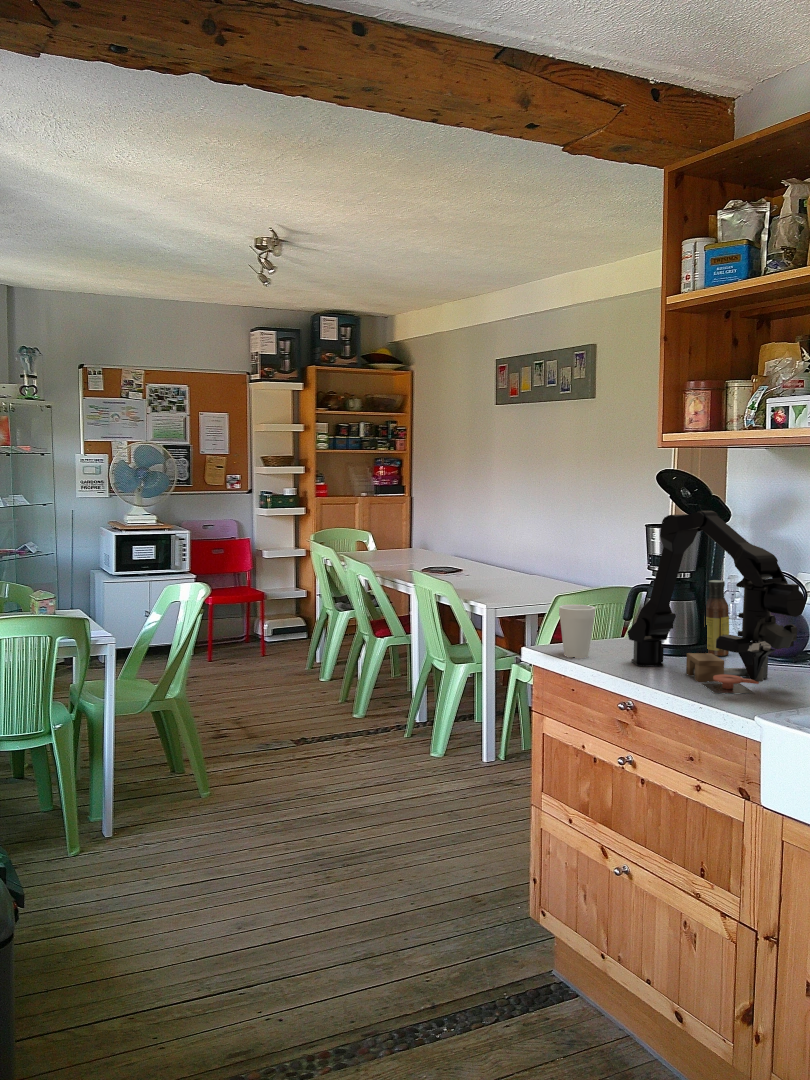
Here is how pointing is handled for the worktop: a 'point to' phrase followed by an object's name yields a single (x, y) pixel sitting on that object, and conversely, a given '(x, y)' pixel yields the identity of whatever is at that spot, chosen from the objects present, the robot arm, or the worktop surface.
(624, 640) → the worktop surface
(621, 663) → the worktop surface
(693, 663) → the eye block
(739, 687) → the brown square plate
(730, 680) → the handwheel
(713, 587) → the sauce bottle
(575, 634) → the foam cup
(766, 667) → the bolt
